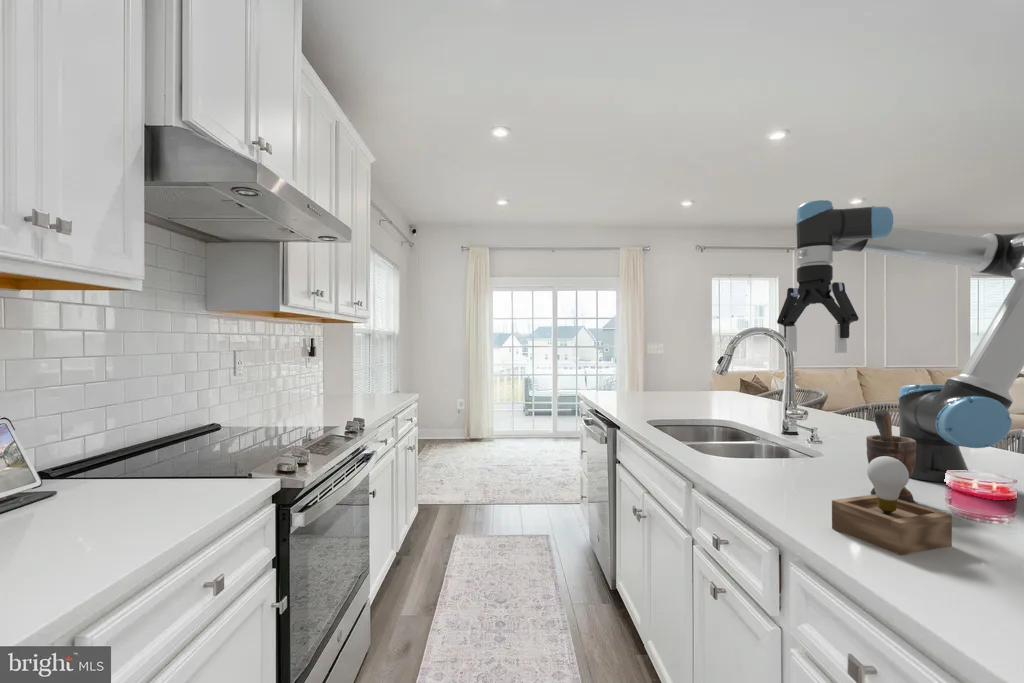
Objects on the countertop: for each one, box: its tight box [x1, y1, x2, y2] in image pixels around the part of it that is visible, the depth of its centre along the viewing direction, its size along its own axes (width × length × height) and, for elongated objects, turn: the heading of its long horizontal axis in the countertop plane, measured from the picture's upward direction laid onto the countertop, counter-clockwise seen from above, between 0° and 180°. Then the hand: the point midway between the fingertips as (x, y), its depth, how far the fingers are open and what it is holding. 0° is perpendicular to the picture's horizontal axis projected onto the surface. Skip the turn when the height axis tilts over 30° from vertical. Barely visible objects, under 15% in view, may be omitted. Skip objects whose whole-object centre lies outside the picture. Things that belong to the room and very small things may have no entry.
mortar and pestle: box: [865, 409, 916, 503], centre depth 106 cm, size 12×9×20 cm
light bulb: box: [866, 456, 910, 513], centre depth 87 cm, size 6×6×10 cm
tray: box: [831, 494, 953, 556], centre depth 86 cm, size 12×12×5 cm
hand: (814, 352), depth 120 cm, fingers open, 13 cm apart
